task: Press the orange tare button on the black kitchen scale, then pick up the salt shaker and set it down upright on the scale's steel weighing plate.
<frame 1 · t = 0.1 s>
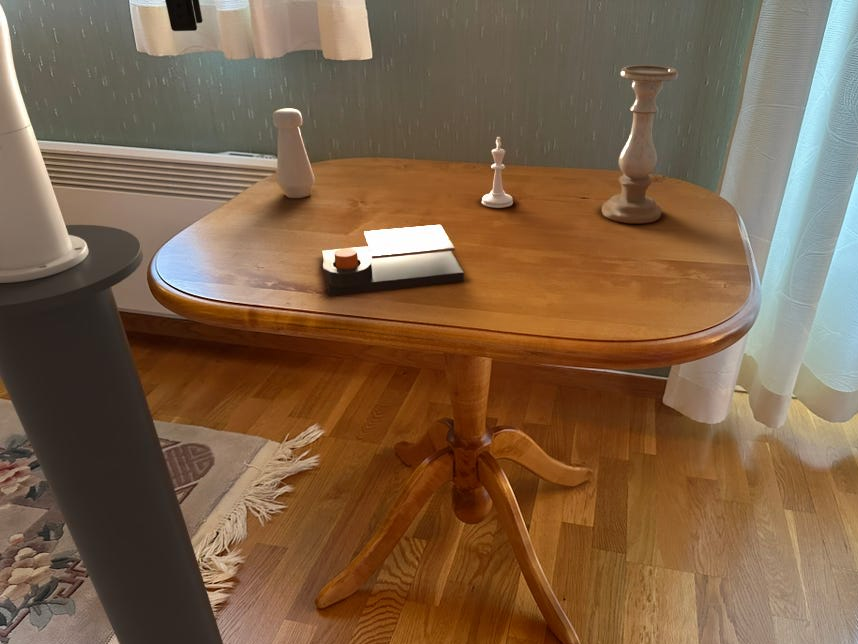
hand: (188, 26, 93), 25 cm above the table, tool pointing down, fingers open, 9 cm apart
salt shaker: (298, 195, 109), on the table
weighing plate: (409, 264, 85), resting on scale
scale: (391, 270, 84), on the table
candle holder: (630, 215, 102), on the table
chess piece: (497, 203, 106), on the table
tare button: (346, 259, 78), point 3 cm above the table, slide at 0.1 cm
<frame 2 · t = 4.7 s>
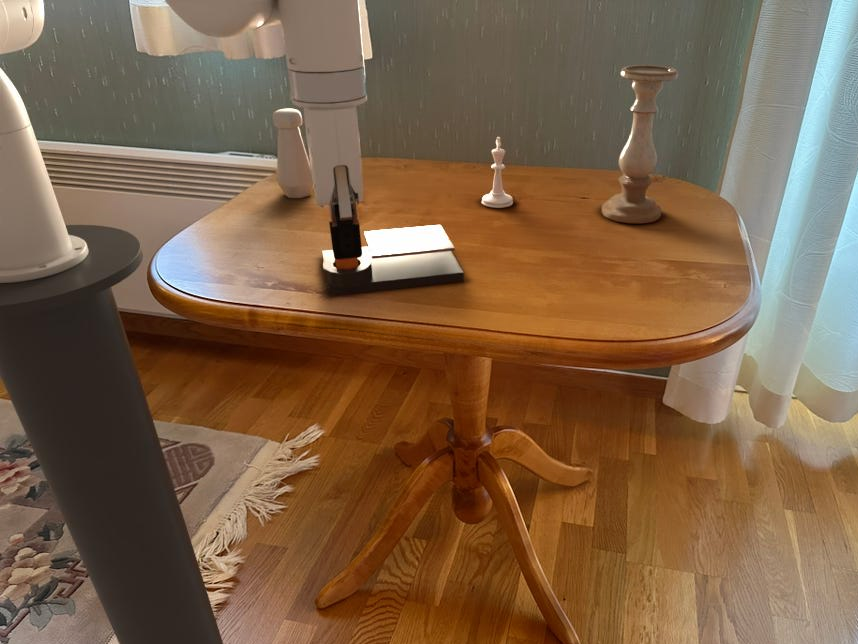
hand: (347, 255, 78), 4 cm above the table, tool pointing down, fingers closed
tare button: (346, 262, 78), point 3 cm above the table, slide at -0.3 cm, touching gripper
everything else where it was.
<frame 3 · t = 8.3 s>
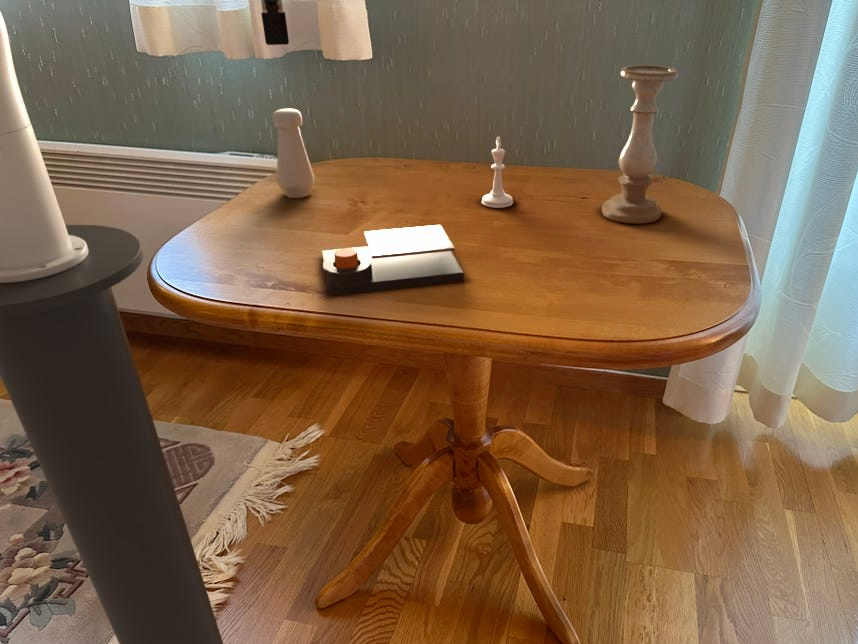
hand: (277, 43, 97), 22 cm above the table, tool pointing down, fingers closed
tare button: (346, 259, 78), point 3 cm above the table, slide at 0.1 cm
everything else where it was.
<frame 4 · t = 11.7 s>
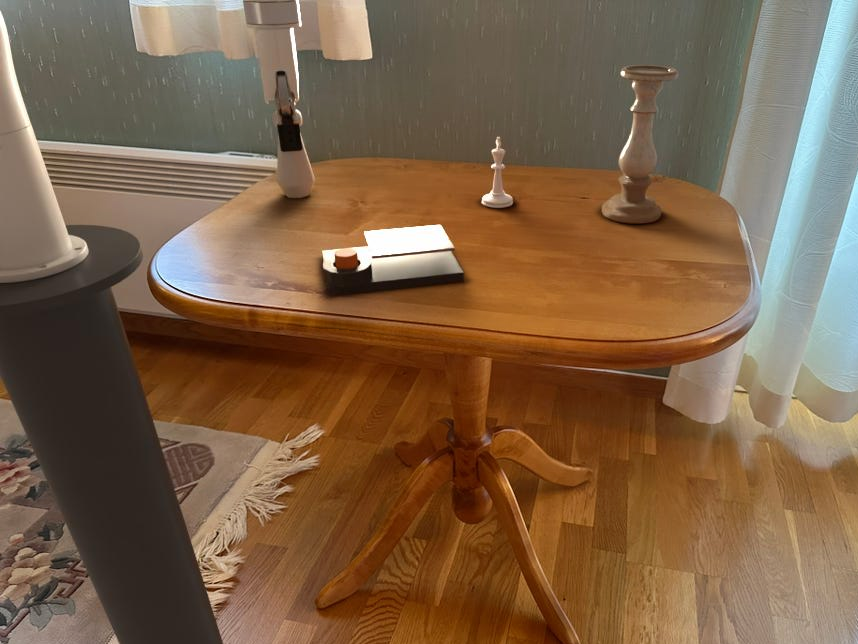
hand: (291, 145, 105), 8 cm above the table, tool pointing down, fingers closed on salt shaker, 4 cm apart
salt shaker: (298, 195, 109), on the table, touching gripper
everything else where it was.
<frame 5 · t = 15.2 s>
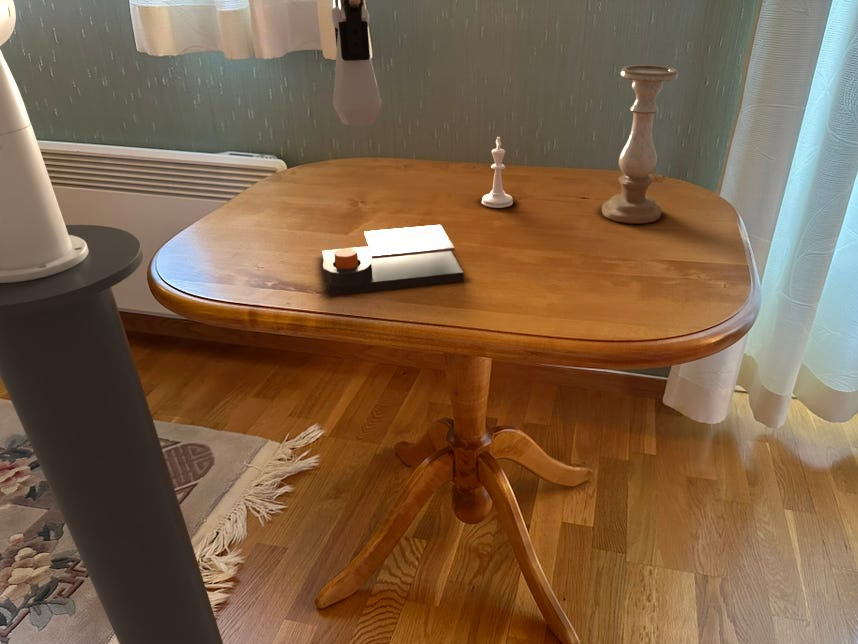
hand: (353, 55, 80), 23 cm above the table, tool pointing down, fingers closed on salt shaker, 4 cm apart
salt shaker: (359, 123, 85), point 15 cm above the table, touching gripper
everything else where it was.
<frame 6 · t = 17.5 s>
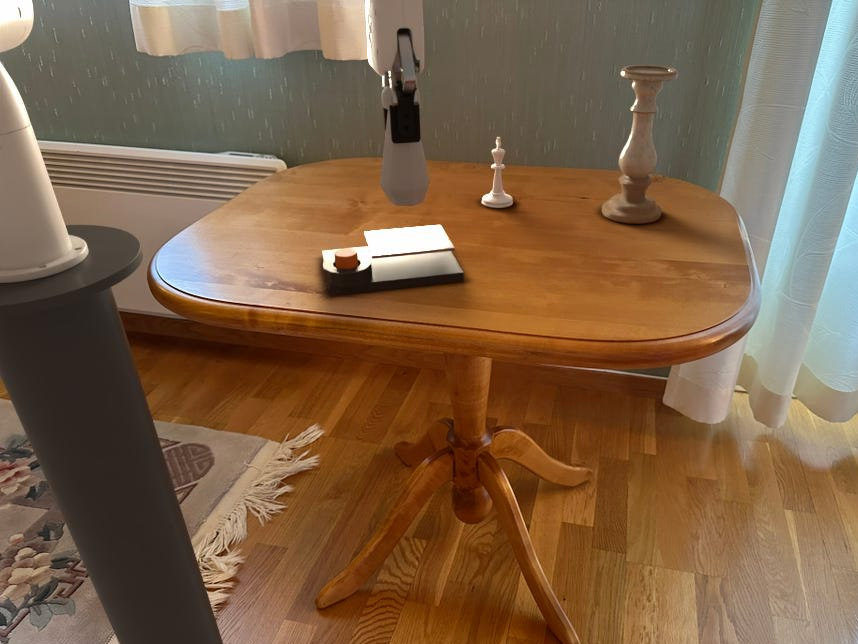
hand: (402, 135, 77), 16 cm above the table, tool pointing down, fingers closed on salt shaker, 4 cm apart
salt shaker: (406, 202, 81), point 8 cm above the table, touching gripper
everything else where it was.
when the fingers open (11 cm above the table, at t = 19.0 s): salt shaker stays where it is, resting on weighing plate.
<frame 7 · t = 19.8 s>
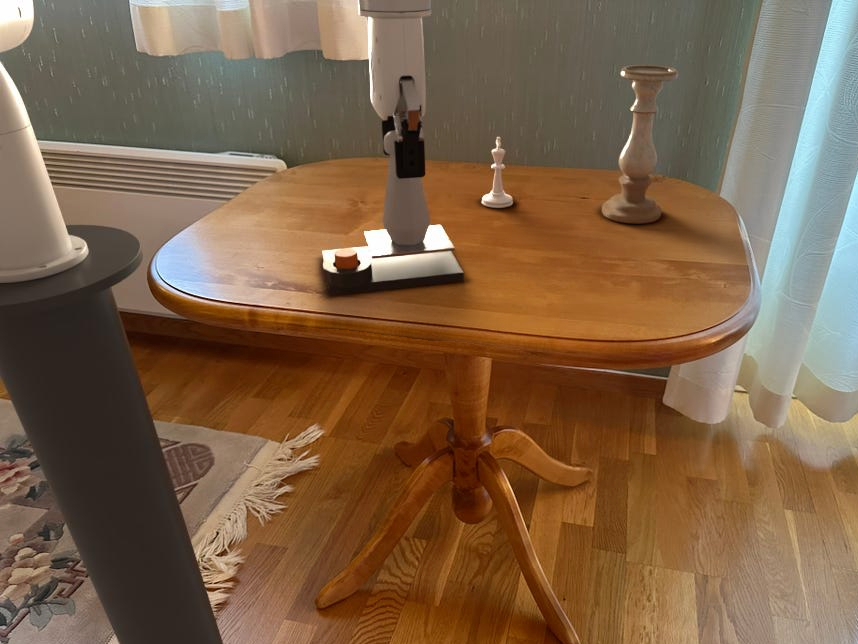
hand: (403, 165, 79), 13 cm above the table, tool pointing down, fingers open, 9 cm apart
salt shaker: (407, 240, 84), point 3 cm above the table, touching weighing plate
everything else where it was.
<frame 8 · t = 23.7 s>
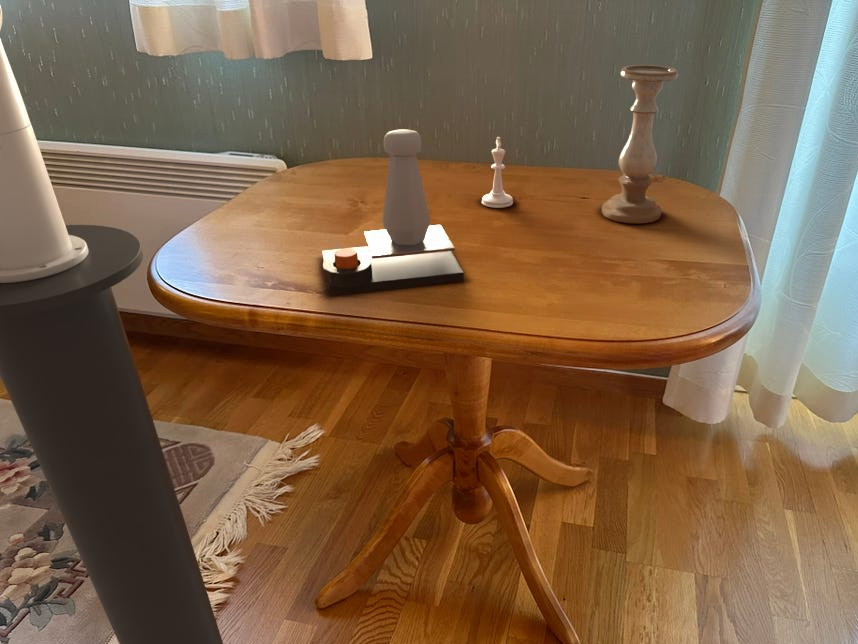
nothing on the table moved.
at the end: tare button pushed in 1.1 cm at the most during the clip, back to where it started at the end; tare button slide at 0.1 cm; salt shaker inside the target area on the scale (0.1 cm from its centre), point 3.2 cm above the scale's base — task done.
